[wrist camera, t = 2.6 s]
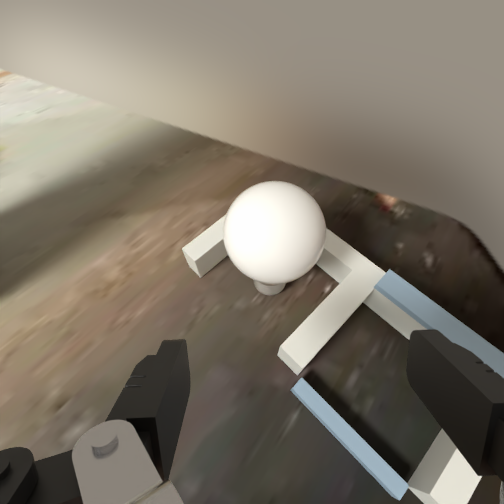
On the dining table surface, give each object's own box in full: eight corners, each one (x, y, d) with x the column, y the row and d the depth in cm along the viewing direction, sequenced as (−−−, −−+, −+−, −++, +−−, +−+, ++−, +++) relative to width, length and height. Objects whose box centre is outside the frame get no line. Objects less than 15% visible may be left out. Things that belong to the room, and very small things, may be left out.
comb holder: (179, 273, 27) (168, 253, 24) (266, 203, 30) (267, 178, 27) (419, 525, 18) (453, 545, 15) (500, 387, 22) (540, 380, 19)
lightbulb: (303, 249, 28) (327, 156, 18) (311, 319, 25) (346, 250, 15) (232, 251, 28) (219, 159, 18) (231, 321, 25) (215, 254, 15)
